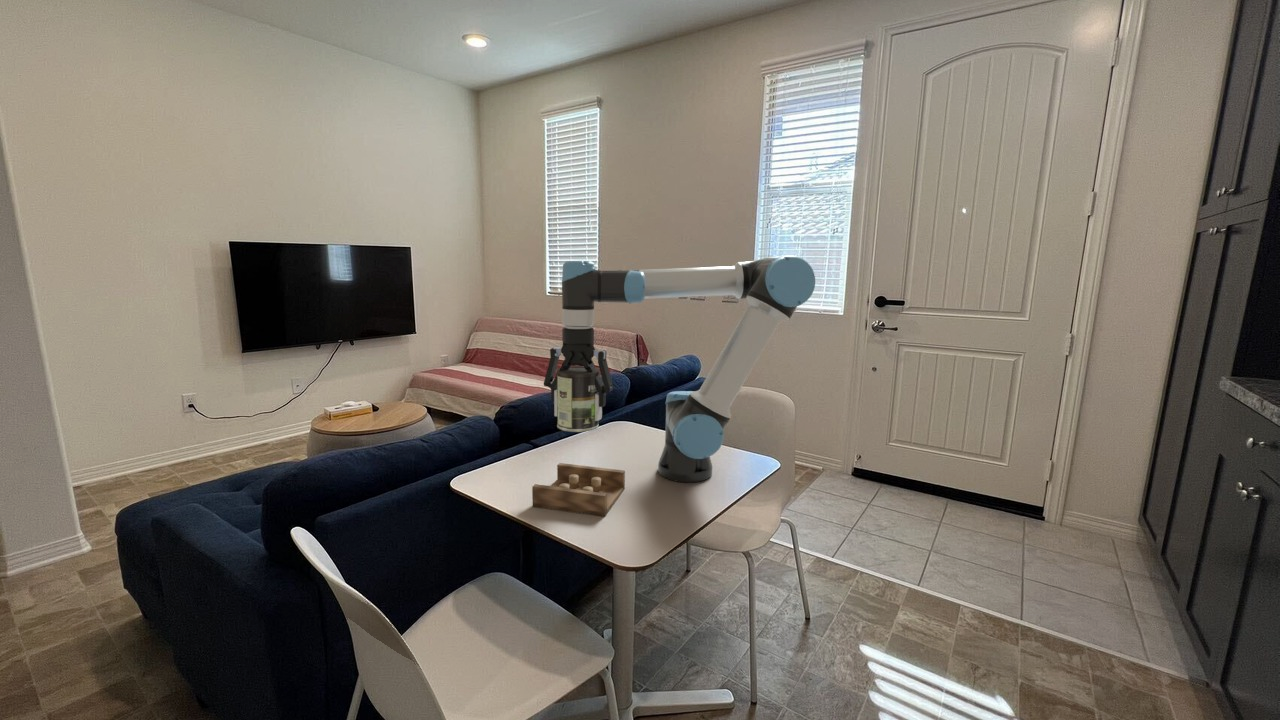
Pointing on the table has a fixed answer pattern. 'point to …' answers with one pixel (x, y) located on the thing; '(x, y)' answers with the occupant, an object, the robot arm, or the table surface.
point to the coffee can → (576, 399)
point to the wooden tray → (581, 490)
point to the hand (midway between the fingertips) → (578, 417)
